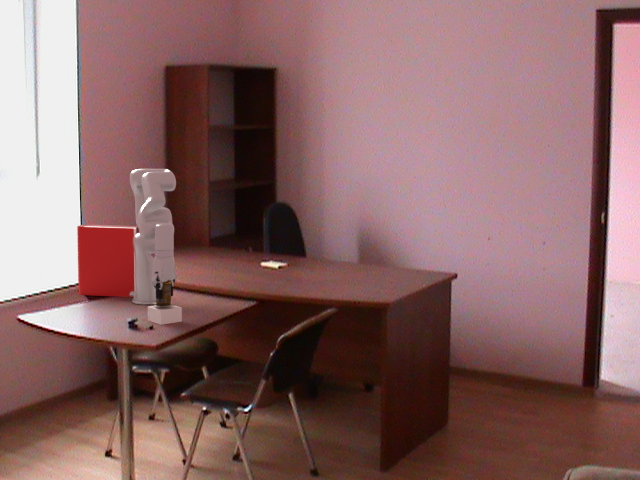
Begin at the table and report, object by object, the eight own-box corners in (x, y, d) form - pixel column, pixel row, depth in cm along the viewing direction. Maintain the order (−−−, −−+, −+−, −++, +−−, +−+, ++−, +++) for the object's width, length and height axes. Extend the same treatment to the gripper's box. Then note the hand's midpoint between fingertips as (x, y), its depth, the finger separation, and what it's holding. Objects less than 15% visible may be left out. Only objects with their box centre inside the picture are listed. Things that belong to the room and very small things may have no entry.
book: (139, 293, 431) (139, 226, 427) (134, 297, 423) (133, 228, 419) (83, 291, 434) (82, 224, 430) (77, 294, 426) (76, 226, 422)
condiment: (169, 302, 380) (169, 273, 378) (175, 306, 372) (175, 277, 370) (152, 303, 376) (151, 274, 375) (157, 307, 369) (157, 278, 367)
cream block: (147, 320, 376) (147, 306, 375) (168, 317, 383) (168, 303, 382) (160, 325, 369) (160, 310, 368) (181, 321, 375) (181, 307, 374)
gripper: (169, 250, 381) (169, 292, 384) (143, 255, 366) (143, 300, 369) (184, 251, 378) (184, 294, 380) (158, 257, 363) (158, 302, 365)
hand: (164, 296), depth 374 cm, fingers closed on condiment, 6 cm apart
